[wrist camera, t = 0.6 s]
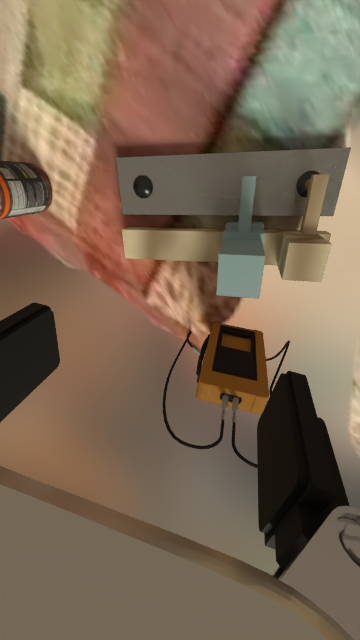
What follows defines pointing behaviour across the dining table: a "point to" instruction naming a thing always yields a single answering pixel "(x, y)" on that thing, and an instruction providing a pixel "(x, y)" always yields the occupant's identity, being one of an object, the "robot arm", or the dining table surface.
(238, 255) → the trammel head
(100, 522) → the robot arm
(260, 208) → the flange plate
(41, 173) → the supplement bottle
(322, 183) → the trammel rail
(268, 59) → the dining table surface
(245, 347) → the multimeter
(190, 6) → the dining table surface
